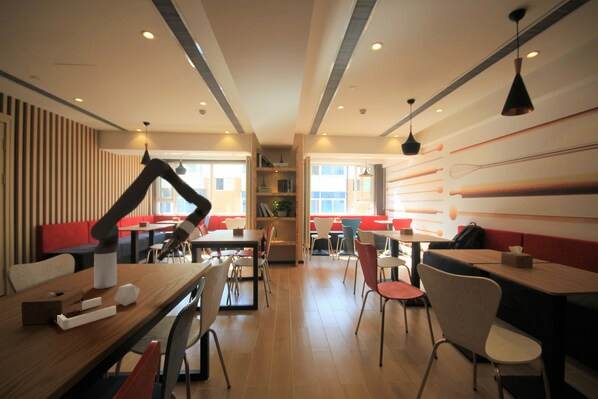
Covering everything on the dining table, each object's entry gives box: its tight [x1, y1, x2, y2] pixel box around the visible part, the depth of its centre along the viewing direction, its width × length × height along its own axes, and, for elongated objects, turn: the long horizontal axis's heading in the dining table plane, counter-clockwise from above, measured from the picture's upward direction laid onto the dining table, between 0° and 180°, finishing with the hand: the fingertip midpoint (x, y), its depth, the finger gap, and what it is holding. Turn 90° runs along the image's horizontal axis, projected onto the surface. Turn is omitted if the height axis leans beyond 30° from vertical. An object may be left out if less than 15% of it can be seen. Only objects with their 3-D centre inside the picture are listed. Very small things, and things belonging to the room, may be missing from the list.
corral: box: [55, 296, 117, 331], centre depth 97 cm, size 17×15×3 cm
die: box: [113, 283, 141, 307], centre depth 108 cm, size 8×9×10 cm
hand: (158, 260), depth 119 cm, fingers closed
